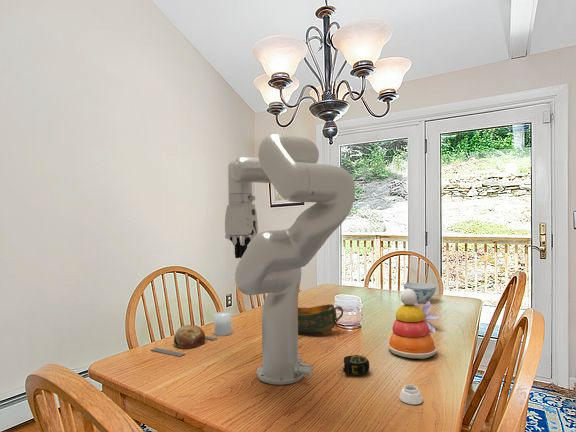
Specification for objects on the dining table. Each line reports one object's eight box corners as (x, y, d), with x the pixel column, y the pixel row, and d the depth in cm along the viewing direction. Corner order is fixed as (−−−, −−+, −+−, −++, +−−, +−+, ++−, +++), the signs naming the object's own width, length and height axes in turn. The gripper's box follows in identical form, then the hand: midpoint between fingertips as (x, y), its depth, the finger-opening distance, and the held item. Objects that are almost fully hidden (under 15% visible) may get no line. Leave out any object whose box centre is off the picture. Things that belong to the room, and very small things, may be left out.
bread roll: (172, 353, 122) (163, 334, 119) (196, 333, 129) (187, 315, 126) (190, 361, 115) (180, 341, 113) (213, 339, 122) (205, 320, 120)
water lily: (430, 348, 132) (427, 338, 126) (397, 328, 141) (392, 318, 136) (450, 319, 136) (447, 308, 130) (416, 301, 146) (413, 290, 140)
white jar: (394, 399, 83) (413, 408, 79) (394, 386, 83) (413, 395, 79) (408, 393, 86) (427, 401, 82) (408, 380, 86) (427, 388, 82)
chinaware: (397, 299, 183) (397, 283, 183) (422, 296, 187) (422, 281, 187) (416, 305, 169) (416, 289, 169) (443, 303, 173) (443, 287, 173)
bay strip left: (184, 354, 111) (184, 353, 111) (180, 357, 109) (180, 356, 109) (156, 348, 116) (155, 347, 116) (151, 350, 114) (151, 349, 114)
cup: (234, 331, 133) (234, 312, 133) (224, 336, 127) (223, 316, 127) (222, 329, 136) (221, 310, 136) (211, 334, 130) (210, 314, 130)
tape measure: (343, 366, 101) (343, 353, 101) (368, 368, 100) (368, 354, 100) (343, 377, 95) (342, 363, 95) (370, 379, 93) (369, 364, 93)
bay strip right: (217, 338, 125) (217, 338, 125) (213, 340, 123) (213, 339, 123) (190, 334, 131) (190, 333, 131) (186, 335, 129) (186, 335, 129)
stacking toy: (440, 349, 113) (439, 286, 114) (432, 365, 101) (431, 295, 101) (394, 341, 121) (393, 283, 121) (382, 356, 108) (381, 290, 108)
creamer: (324, 343, 120) (324, 312, 120) (279, 331, 133) (279, 304, 133) (345, 333, 129) (345, 305, 130) (301, 323, 142) (301, 297, 142)
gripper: (267, 199, 116) (267, 257, 116) (227, 201, 123) (228, 256, 123) (255, 198, 109) (255, 260, 109) (213, 200, 116) (214, 258, 116)
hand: (241, 257), depth 116 cm, fingers closed
